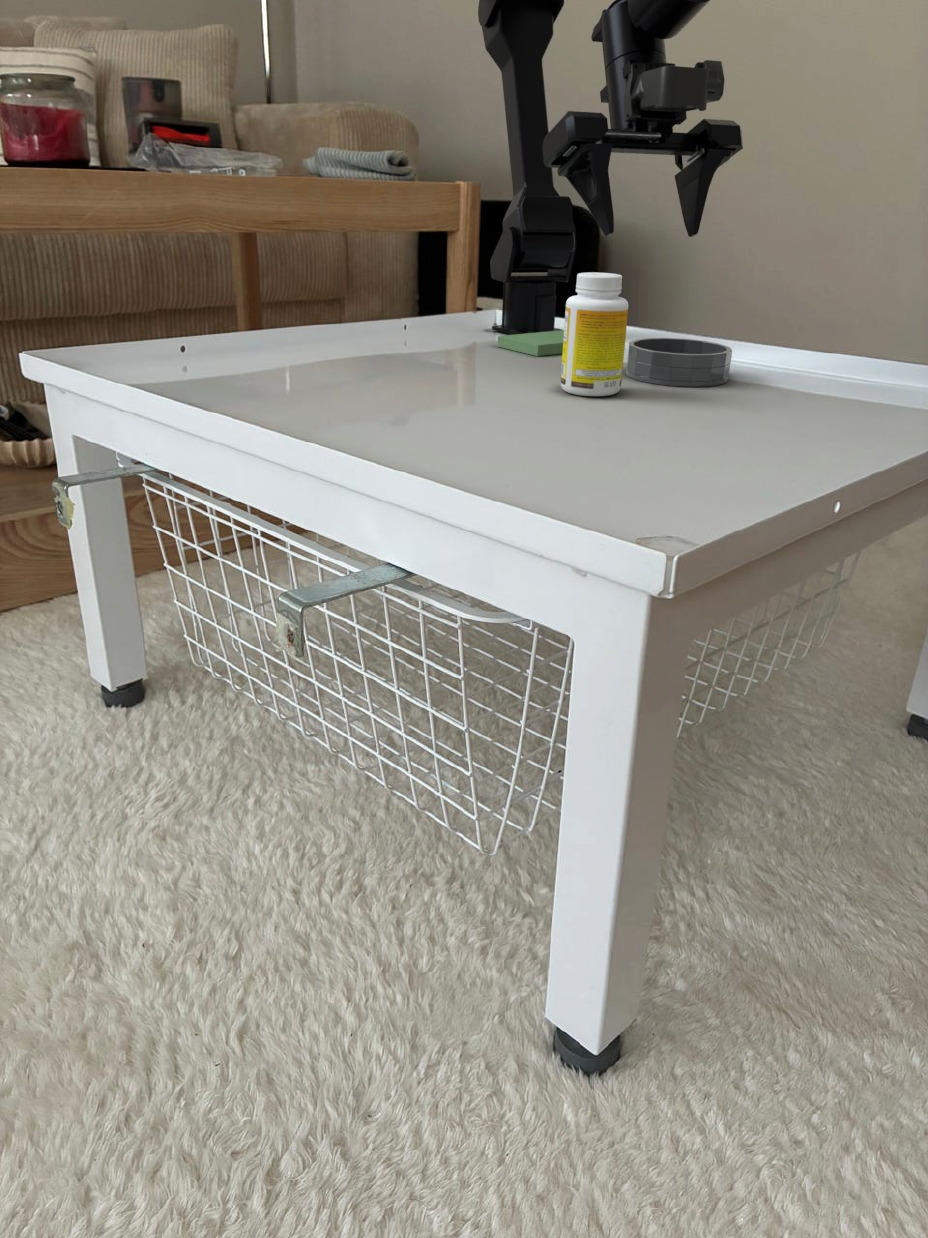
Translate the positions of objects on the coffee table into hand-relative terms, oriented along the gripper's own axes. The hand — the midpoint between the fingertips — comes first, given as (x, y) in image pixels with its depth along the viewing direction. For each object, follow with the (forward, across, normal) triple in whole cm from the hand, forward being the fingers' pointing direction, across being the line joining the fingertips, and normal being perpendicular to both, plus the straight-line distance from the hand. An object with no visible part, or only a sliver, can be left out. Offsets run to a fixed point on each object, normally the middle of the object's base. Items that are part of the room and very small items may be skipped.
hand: (652, 234), depth 90 cm
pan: (+13, +3, +4) cm, 14 cm away
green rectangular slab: (+6, -2, +20) cm, 21 cm away
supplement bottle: (+15, -9, -1) cm, 17 cm away
